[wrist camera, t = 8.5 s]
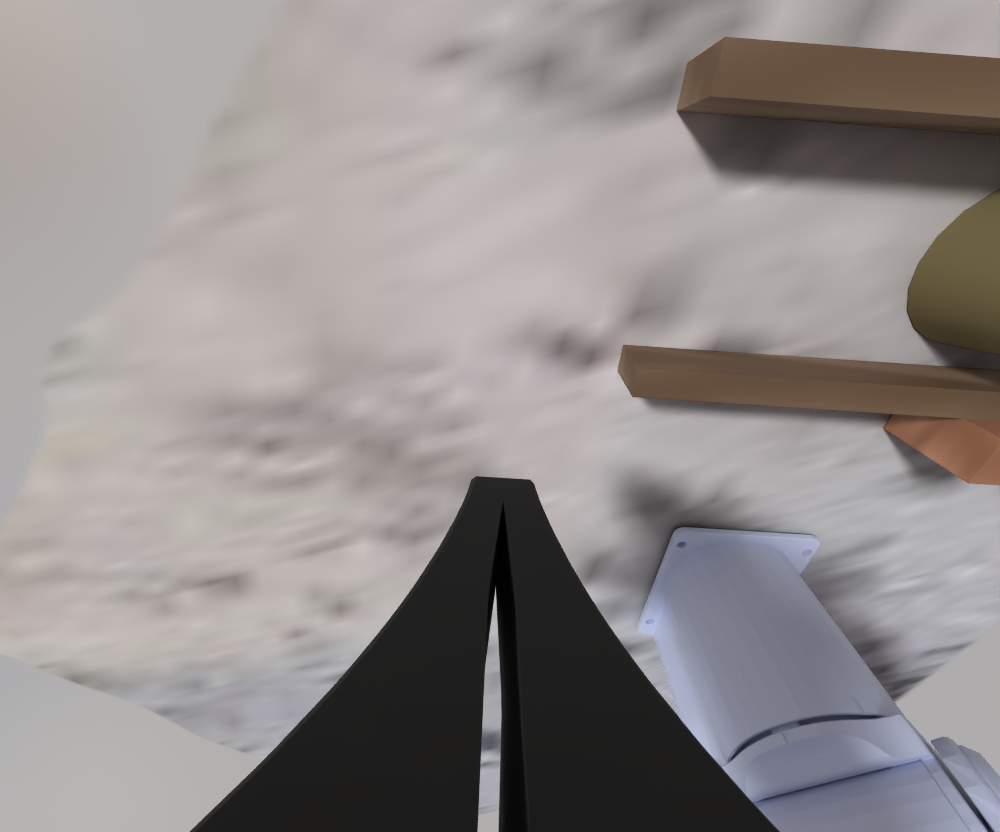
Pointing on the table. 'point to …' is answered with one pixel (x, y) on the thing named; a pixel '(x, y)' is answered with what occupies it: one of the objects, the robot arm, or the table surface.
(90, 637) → the table surface
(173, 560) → the table surface
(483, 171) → the table surface
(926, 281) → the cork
